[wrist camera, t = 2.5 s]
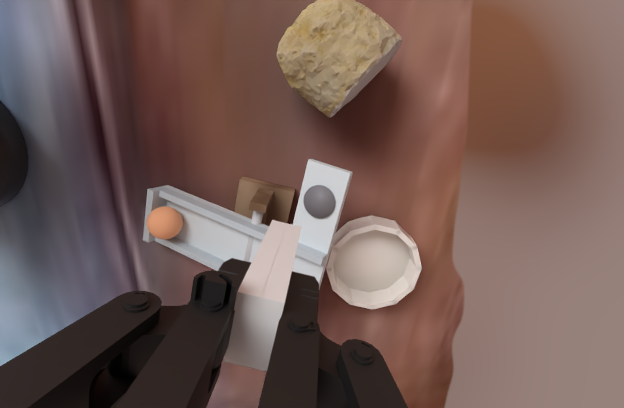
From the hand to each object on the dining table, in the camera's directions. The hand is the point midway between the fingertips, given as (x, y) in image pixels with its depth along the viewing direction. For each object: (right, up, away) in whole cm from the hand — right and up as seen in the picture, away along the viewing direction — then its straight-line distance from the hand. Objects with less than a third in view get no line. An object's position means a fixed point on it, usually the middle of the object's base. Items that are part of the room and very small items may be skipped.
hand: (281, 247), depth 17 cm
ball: (-14, 0, +18) cm, 23 cm away
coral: (+4, +17, +17) cm, 24 cm away
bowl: (+8, -4, +23) cm, 25 cm away
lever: (-6, +1, +18) cm, 18 cm away
